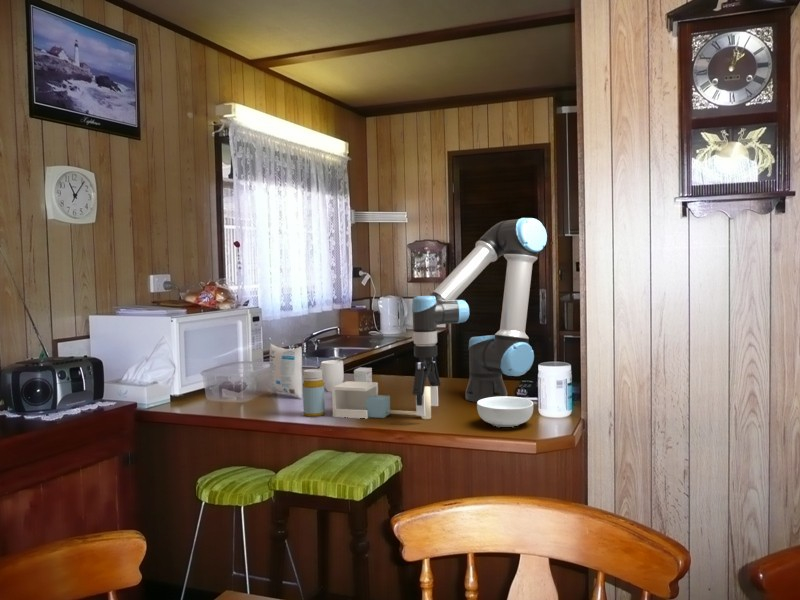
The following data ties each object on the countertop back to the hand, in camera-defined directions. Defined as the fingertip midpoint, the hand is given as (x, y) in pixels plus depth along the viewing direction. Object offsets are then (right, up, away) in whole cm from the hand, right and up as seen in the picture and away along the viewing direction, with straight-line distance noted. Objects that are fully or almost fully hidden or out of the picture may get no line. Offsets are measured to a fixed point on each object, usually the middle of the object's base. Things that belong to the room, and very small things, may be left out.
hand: (427, 410), depth 204 cm
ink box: (-22, -2, +31) cm, 38 cm away
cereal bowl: (+23, -3, -11) cm, 26 cm away
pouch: (-53, -2, +43) cm, 68 cm away
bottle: (-38, -3, +10) cm, 39 cm away
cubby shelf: (-23, -3, +9) cm, 25 cm away
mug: (-37, -1, +52) cm, 64 cm away
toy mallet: (-9, -3, +3) cm, 10 cm away
